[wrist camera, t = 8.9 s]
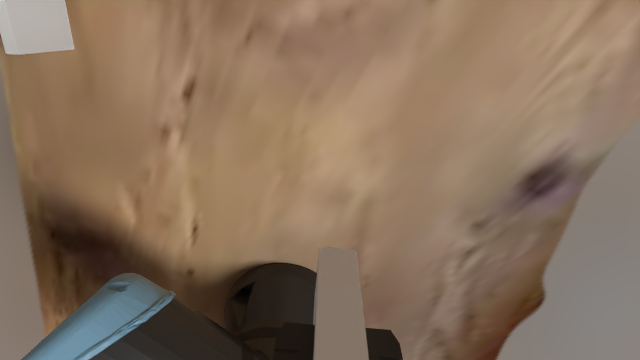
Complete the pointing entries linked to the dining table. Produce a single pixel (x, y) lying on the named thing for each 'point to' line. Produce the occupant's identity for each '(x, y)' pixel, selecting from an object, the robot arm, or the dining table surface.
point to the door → (34, 26)
